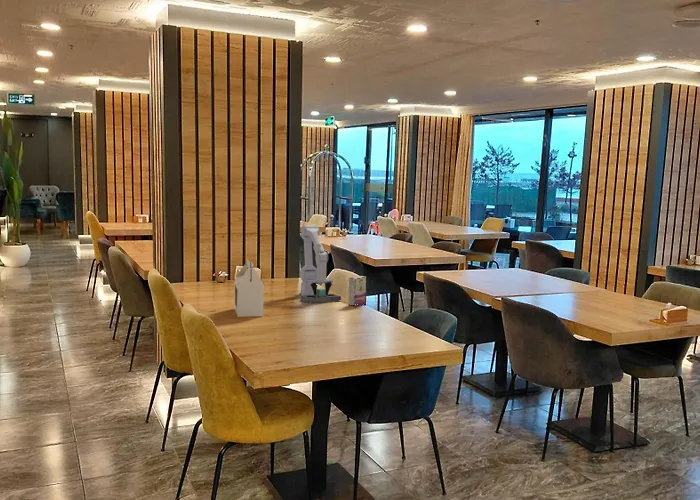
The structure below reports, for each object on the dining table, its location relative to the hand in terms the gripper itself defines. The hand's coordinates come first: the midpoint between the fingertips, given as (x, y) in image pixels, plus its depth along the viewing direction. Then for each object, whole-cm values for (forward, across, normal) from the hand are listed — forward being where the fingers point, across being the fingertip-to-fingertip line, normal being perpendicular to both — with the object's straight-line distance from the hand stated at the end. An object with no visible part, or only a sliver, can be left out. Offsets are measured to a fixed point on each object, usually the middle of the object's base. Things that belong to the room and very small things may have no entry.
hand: (320, 295), depth 379 cm
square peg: (+3, 0, 0) cm, 4 cm away
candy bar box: (+4, +15, -18) cm, 24 cm away
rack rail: (+3, 0, 0) cm, 3 cm away
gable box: (+4, -52, -19) cm, 55 cm away
